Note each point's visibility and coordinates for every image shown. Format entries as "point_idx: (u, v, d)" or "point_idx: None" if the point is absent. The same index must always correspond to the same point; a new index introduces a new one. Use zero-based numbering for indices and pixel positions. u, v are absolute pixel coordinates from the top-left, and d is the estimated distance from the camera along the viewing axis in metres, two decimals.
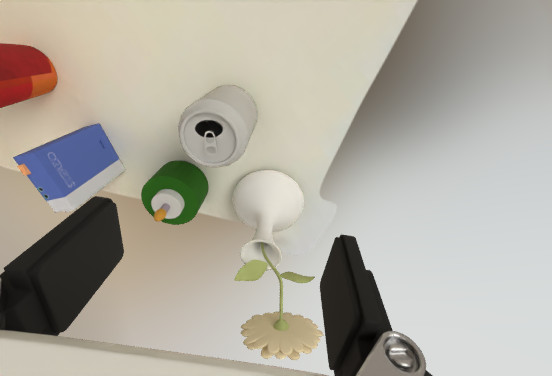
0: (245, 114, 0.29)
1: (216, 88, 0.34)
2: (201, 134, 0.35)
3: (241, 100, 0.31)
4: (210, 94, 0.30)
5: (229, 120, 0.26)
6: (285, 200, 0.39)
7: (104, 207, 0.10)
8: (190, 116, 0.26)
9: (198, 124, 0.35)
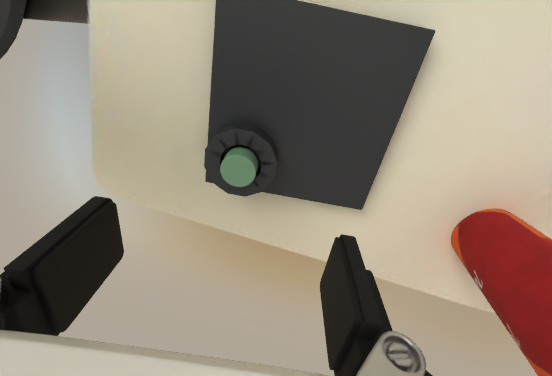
0: None
1: None
2: None
3: None
4: None
5: None
6: None
7: (104, 207, 0.10)
8: None
9: None
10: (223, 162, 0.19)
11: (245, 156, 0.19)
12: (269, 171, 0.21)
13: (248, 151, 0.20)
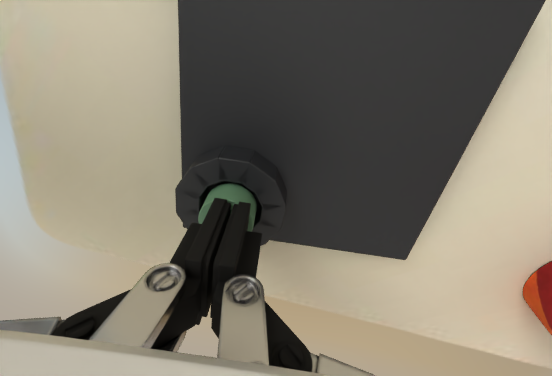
0: None
1: None
2: None
3: None
4: None
5: None
6: None
7: (226, 207, 0.11)
8: None
9: None
10: (202, 210, 0.12)
11: (237, 200, 0.12)
12: (274, 218, 0.14)
13: (241, 190, 0.13)
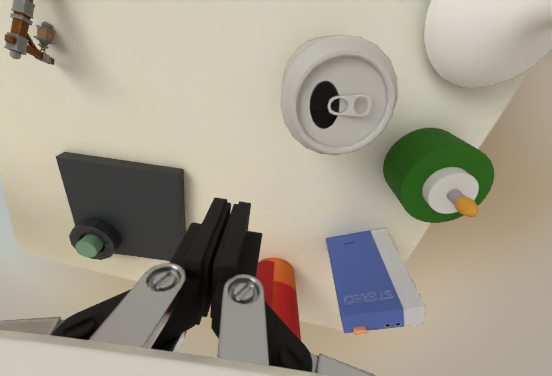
0: (311, 44, 0.18)
1: None
2: None
3: (295, 55, 0.20)
4: None
5: (310, 66, 0.15)
6: None
7: (226, 207, 0.11)
8: (301, 132, 0.17)
9: None
10: (76, 245, 0.33)
11: (88, 241, 0.33)
12: (109, 246, 0.34)
13: (93, 236, 0.34)
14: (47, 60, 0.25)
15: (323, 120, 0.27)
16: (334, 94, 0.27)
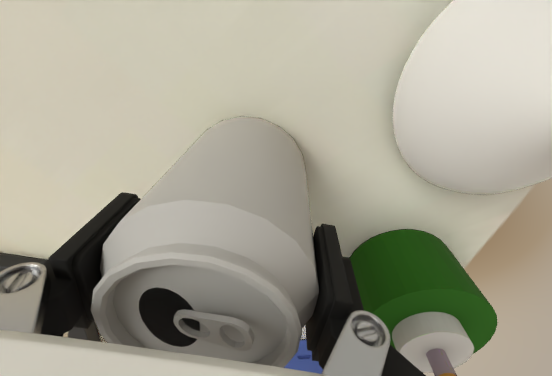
0: (166, 179, 0.10)
1: None
2: None
3: None
4: None
5: (108, 276, 0.07)
6: (531, 32, 0.10)
7: (131, 203, 0.10)
8: None
9: None
10: None
11: None
12: None
13: None
14: None
15: None
16: None
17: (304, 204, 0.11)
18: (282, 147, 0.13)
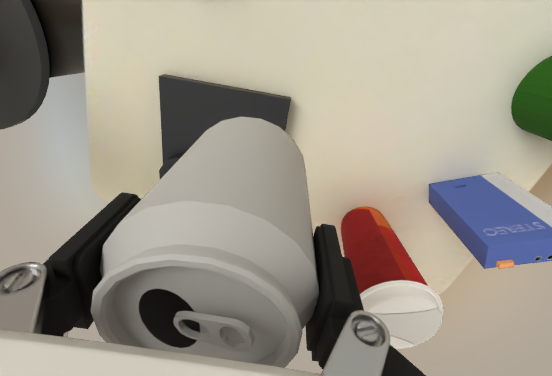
0: (166, 180, 0.10)
1: None
2: None
3: None
4: None
5: (108, 278, 0.07)
6: None
7: (132, 203, 0.10)
8: None
9: None
10: None
11: None
12: None
13: None
14: None
15: None
16: None
17: (304, 205, 0.11)
18: (282, 148, 0.13)
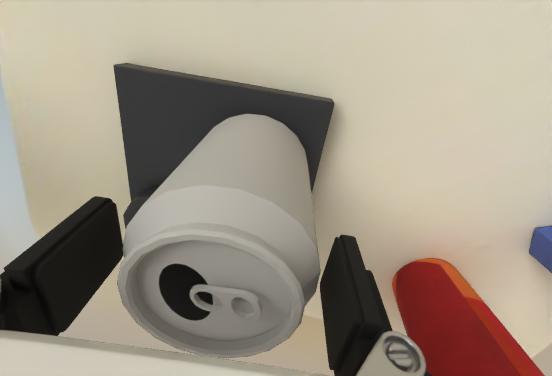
0: (181, 169, 0.11)
1: None
2: None
3: None
4: None
5: (134, 251, 0.08)
6: None
7: (104, 207, 0.10)
8: (151, 332, 0.10)
9: None
10: None
11: None
12: None
13: None
14: None
15: None
16: None
17: (307, 194, 0.12)
18: (286, 142, 0.14)
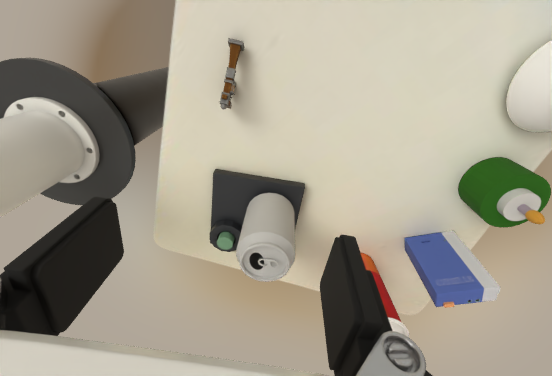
0: (252, 224, 0.34)
1: None
2: None
3: (248, 217, 0.37)
4: None
5: (247, 249, 0.32)
6: None
7: (104, 207, 0.10)
8: (245, 272, 0.33)
9: None
10: (218, 240, 0.43)
11: (227, 237, 0.43)
12: None
13: (229, 233, 0.44)
14: (230, 106, 0.35)
15: None
16: None
17: (292, 229, 0.36)
18: (285, 208, 0.38)
